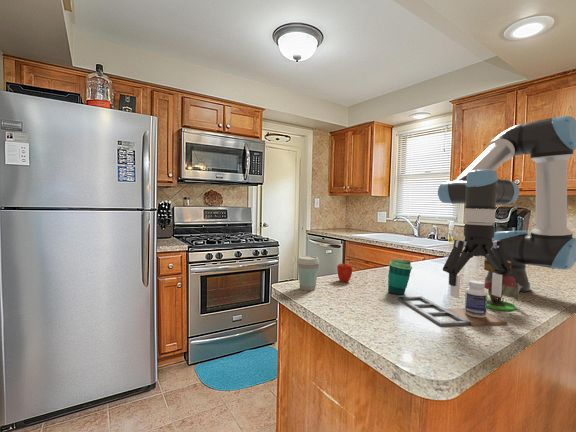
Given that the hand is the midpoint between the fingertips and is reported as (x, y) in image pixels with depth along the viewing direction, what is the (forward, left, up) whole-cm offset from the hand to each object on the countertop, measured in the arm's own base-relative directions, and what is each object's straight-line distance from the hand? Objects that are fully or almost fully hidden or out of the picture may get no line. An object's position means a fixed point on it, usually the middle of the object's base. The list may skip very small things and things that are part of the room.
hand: (475, 296), depth 88 cm
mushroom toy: (-16, -9, -7) cm, 20 cm away
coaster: (0, 0, -6) cm, 6 cm away
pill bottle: (0, 0, -6) cm, 6 cm away
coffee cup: (+43, -33, -7) cm, 55 cm away
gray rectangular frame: (+10, -6, -6) cm, 13 cm away
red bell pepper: (+25, -43, -7) cm, 50 cm away
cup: (+10, -25, -7) cm, 28 cm away
